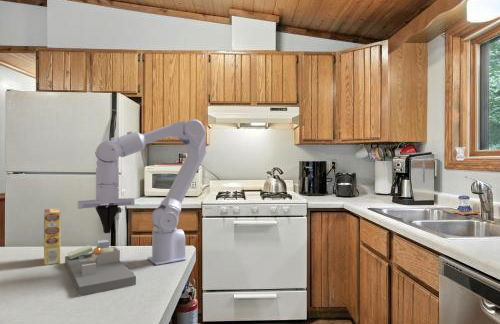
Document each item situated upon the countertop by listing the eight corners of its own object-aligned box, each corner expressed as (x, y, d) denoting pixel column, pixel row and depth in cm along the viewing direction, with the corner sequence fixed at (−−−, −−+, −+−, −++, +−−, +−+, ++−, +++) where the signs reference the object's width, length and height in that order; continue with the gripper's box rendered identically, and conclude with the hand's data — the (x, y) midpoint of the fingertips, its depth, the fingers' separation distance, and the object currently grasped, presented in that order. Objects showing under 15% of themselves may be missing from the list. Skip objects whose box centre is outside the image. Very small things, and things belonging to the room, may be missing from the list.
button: (112, 256, 92) (112, 246, 92) (115, 259, 89) (115, 249, 89) (97, 258, 90) (97, 248, 90) (100, 262, 87) (100, 251, 87)
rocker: (90, 247, 97) (89, 244, 97) (92, 250, 93) (91, 247, 93) (68, 256, 93) (67, 252, 93) (70, 259, 90) (69, 256, 90)
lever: (89, 269, 81) (102, 247, 83) (91, 272, 79) (104, 250, 80) (81, 267, 80) (94, 244, 82) (83, 269, 78) (97, 247, 80)
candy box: (60, 263, 94) (61, 211, 94) (43, 265, 91) (44, 212, 92) (59, 256, 101) (59, 208, 101) (43, 258, 99) (44, 209, 99)
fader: (106, 251, 99) (106, 239, 99) (109, 253, 96) (109, 241, 96) (96, 252, 97) (96, 240, 97) (98, 255, 94) (98, 243, 94)
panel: (108, 256, 101) (108, 240, 101) (135, 284, 76) (136, 263, 77) (64, 263, 94) (65, 246, 94) (79, 296, 70) (79, 273, 70)
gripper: (129, 182, 97) (129, 227, 97) (76, 184, 89) (75, 233, 89) (136, 183, 92) (136, 231, 91) (79, 185, 83) (79, 237, 83)
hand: (106, 232), depth 90 cm, fingers closed
